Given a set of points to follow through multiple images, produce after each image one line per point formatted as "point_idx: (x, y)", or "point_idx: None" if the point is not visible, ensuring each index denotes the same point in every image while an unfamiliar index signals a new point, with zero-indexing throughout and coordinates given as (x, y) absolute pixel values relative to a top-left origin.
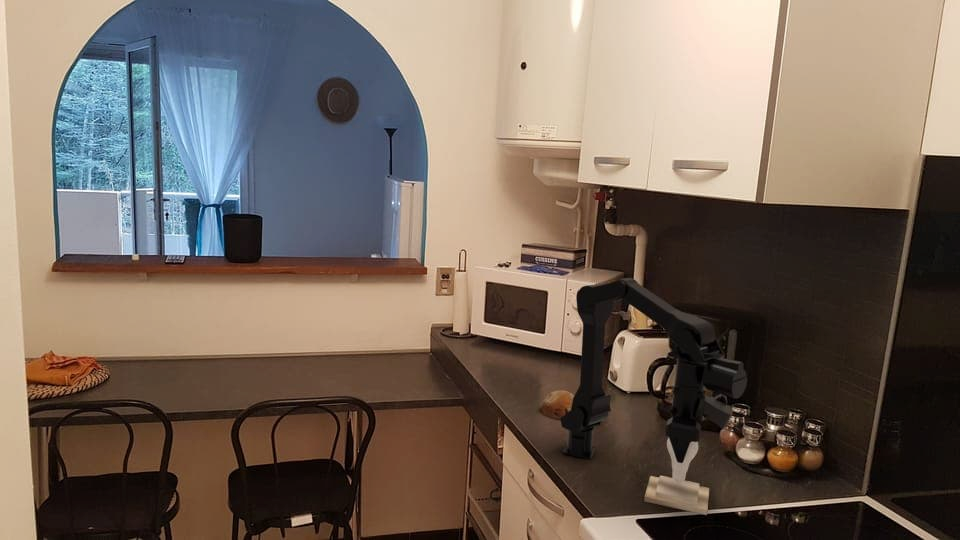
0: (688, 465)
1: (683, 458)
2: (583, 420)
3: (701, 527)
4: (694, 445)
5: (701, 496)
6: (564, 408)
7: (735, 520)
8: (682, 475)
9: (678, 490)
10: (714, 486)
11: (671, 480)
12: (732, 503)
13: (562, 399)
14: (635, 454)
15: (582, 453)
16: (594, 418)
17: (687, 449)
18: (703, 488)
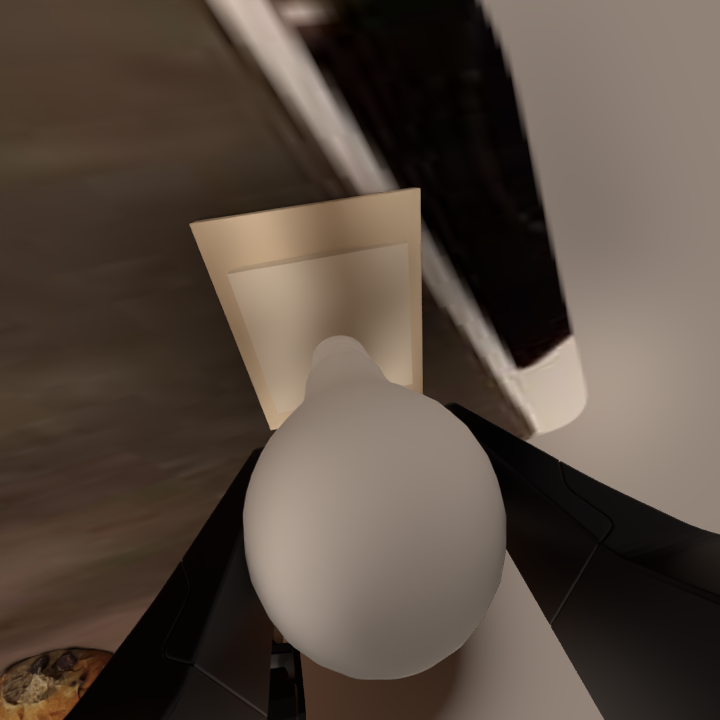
0: (358, 367)
1: (481, 421)
2: (302, 700)
3: (511, 189)
4: (461, 461)
5: (306, 239)
6: (80, 695)
7: (396, 30)
8: (365, 355)
9: (359, 330)
10: (96, 207)
11: (288, 373)
12: (215, 71)
13: None
14: (120, 505)
15: None
16: (270, 709)
17: (569, 466)
18: (217, 248)
